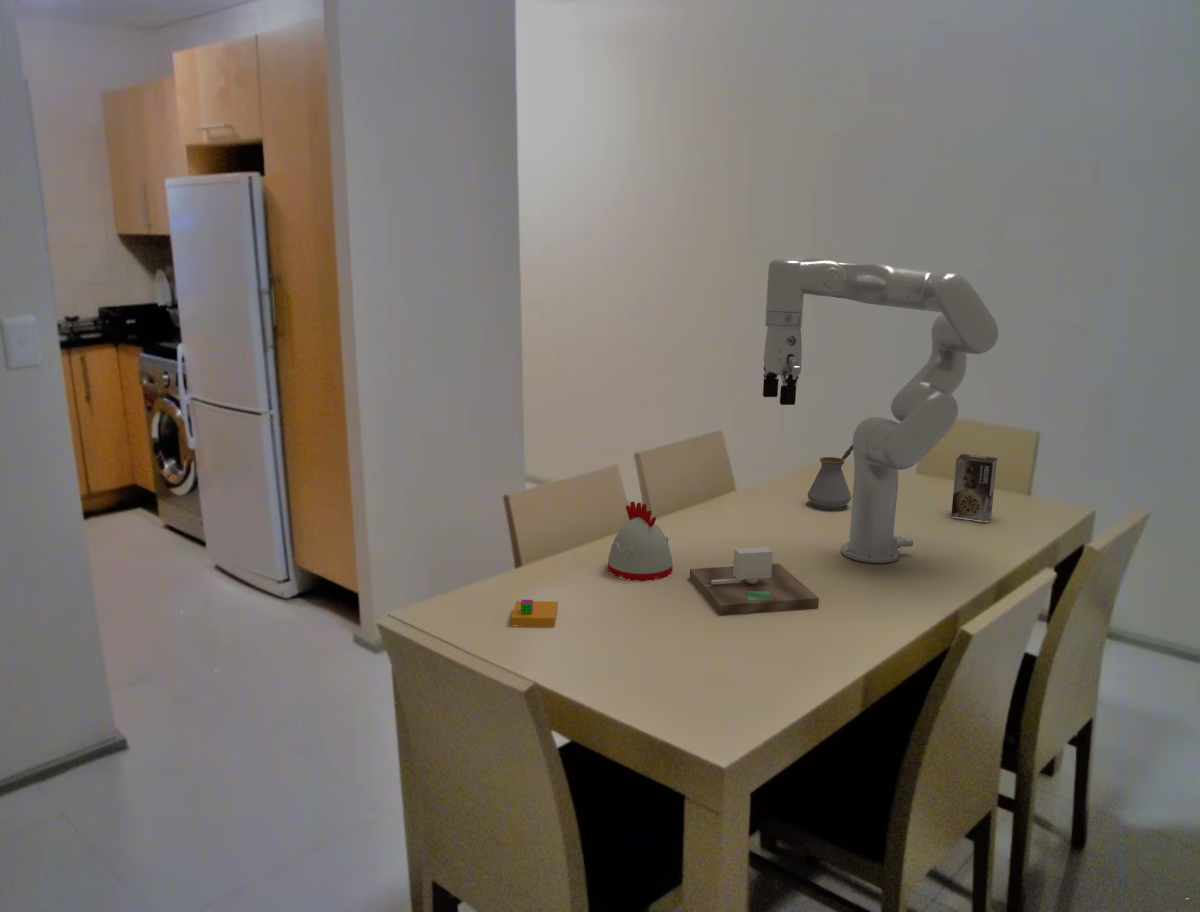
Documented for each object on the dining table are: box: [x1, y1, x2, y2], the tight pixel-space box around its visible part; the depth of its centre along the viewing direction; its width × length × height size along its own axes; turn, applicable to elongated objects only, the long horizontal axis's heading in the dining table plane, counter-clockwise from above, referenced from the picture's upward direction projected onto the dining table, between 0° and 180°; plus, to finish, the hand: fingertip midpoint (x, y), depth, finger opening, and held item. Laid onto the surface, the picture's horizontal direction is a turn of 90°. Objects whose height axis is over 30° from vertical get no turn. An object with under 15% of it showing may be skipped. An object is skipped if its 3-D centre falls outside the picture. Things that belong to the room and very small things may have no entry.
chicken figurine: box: [607, 500, 673, 582], centre depth 196 cm, size 14×14×15 cm
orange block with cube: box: [510, 599, 559, 628], centre depth 172 cm, size 8×8×4 cm
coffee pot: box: [807, 443, 853, 511], centre depth 249 cm, size 21×12×15 cm, turn 141°
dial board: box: [689, 563, 820, 616], centre depth 185 cm, size 20×20×2 cm
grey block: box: [711, 546, 774, 584], centre depth 184 cm, size 12×3×7 cm, turn 102°
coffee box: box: [950, 453, 998, 521], centre depth 236 cm, size 9×6×16 cm
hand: (778, 400), depth 195 cm, fingers open, 9 cm apart
